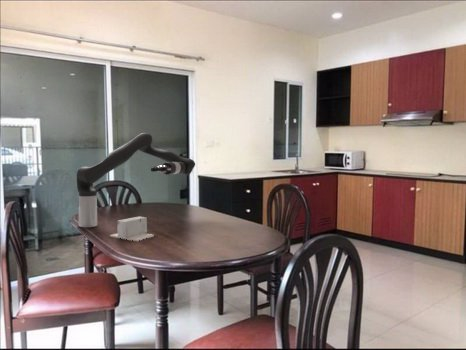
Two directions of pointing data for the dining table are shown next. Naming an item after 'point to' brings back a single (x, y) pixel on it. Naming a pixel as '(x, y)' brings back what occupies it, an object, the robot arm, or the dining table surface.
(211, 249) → the dining table surface
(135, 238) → the mat
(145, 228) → the skincare box
